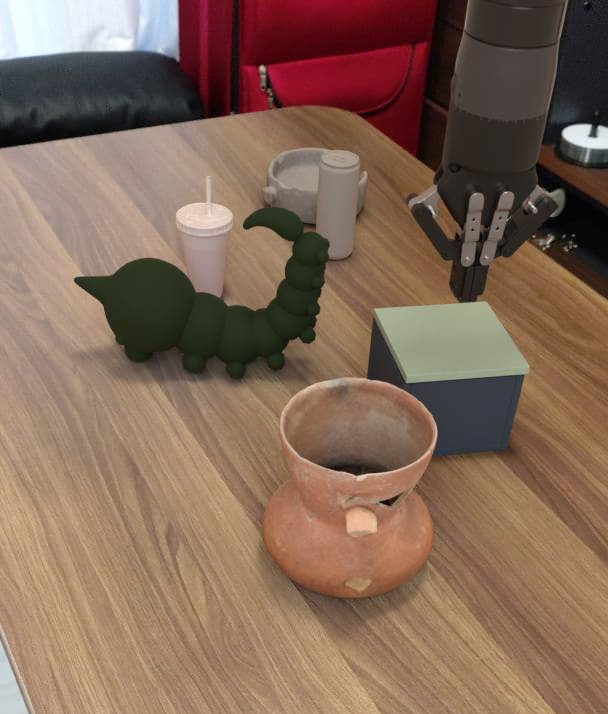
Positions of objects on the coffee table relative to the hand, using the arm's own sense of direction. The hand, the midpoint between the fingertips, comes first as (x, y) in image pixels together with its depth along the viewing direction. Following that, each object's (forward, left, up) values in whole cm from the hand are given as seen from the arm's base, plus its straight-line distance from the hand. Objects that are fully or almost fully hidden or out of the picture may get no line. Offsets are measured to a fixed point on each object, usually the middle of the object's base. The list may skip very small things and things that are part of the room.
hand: (465, 298), depth 86 cm
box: (0, -2, -15) cm, 15 cm away
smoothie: (+20, -29, -15) cm, 39 cm away
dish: (+3, -50, -15) cm, 53 cm away
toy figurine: (+22, -15, -15) cm, 31 cm away
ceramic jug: (+13, +15, -15) cm, 25 cm away
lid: (0, -2, -6) cm, 7 cm away
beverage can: (+3, -37, -15) cm, 41 cm away
